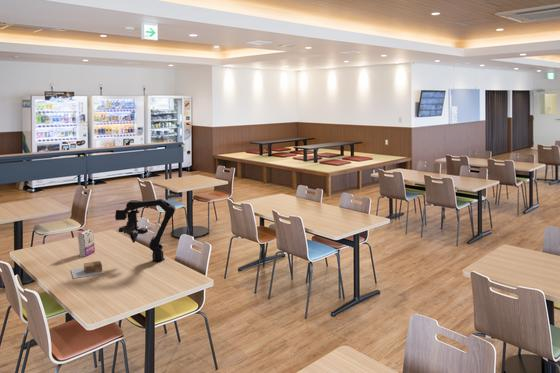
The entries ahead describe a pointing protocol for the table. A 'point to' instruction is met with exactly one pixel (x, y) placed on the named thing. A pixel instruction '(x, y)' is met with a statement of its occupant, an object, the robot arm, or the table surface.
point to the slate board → (82, 273)
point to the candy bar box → (86, 243)
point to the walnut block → (92, 267)
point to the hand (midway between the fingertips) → (133, 242)
